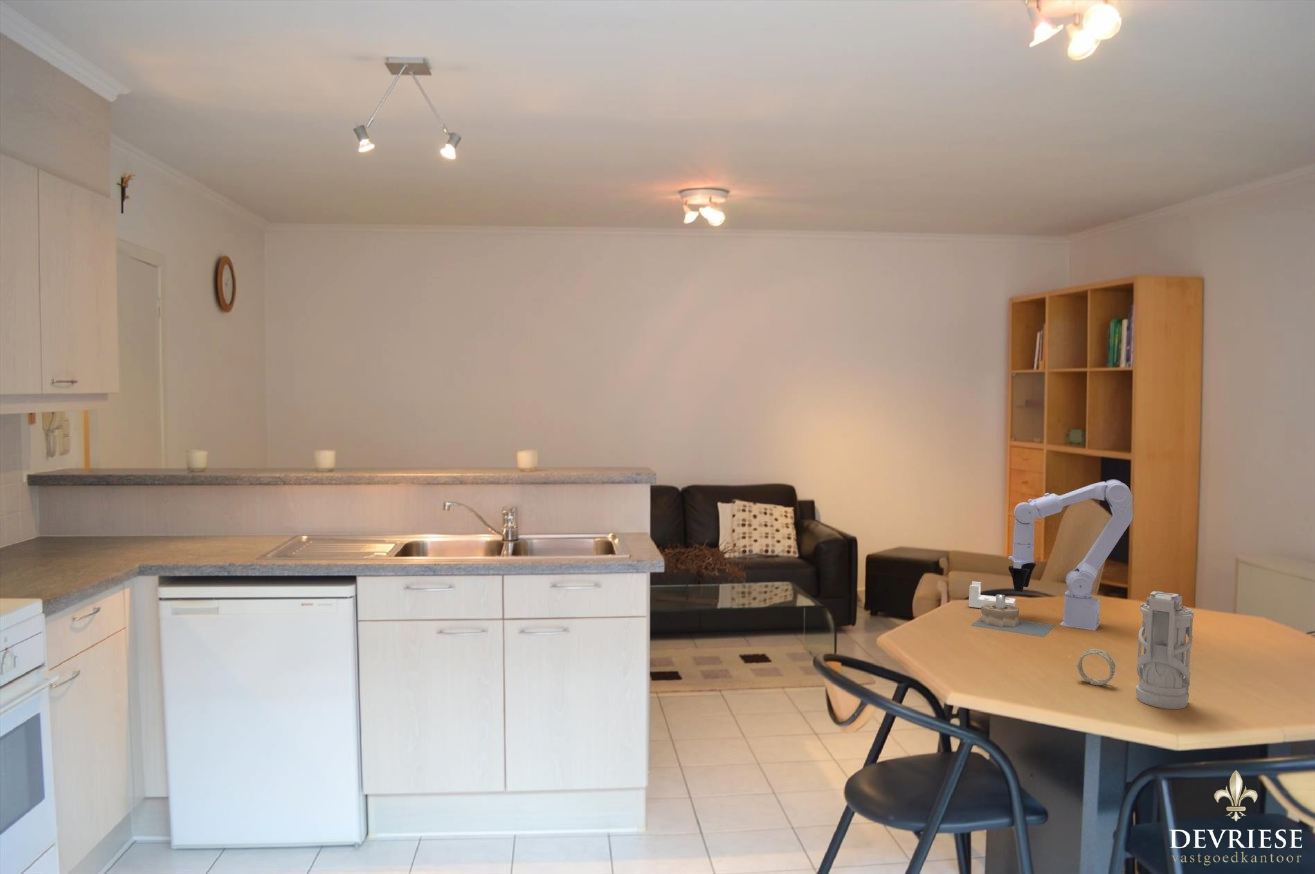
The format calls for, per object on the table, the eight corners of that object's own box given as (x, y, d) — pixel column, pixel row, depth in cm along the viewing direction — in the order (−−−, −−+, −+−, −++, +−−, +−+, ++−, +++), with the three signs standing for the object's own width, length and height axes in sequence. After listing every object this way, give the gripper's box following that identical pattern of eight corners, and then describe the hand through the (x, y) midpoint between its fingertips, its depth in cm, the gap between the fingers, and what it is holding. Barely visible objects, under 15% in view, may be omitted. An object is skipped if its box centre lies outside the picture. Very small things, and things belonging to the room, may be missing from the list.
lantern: (1139, 690, 216) (1145, 582, 214) (1191, 700, 209) (1198, 589, 208) (1128, 705, 205) (1134, 591, 204) (1182, 716, 199) (1189, 599, 198)
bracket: (968, 609, 293) (969, 585, 293) (971, 604, 299) (972, 581, 299) (1013, 614, 288) (1014, 590, 287) (1014, 609, 294) (1016, 586, 293)
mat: (1055, 626, 273) (1055, 625, 273) (1044, 638, 260) (1044, 636, 260) (984, 615, 284) (984, 614, 284) (970, 626, 271) (970, 625, 271)
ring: (1020, 621, 276) (1021, 606, 276) (1012, 628, 268) (1013, 612, 268) (986, 616, 282) (987, 601, 281) (978, 623, 274) (979, 607, 273)
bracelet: (1079, 678, 224) (1080, 645, 223) (1115, 685, 219) (1117, 651, 219) (1075, 682, 221) (1076, 648, 220) (1112, 689, 216) (1113, 655, 216)
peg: (1005, 622, 275) (1006, 595, 275) (1003, 624, 273) (1004, 596, 273) (995, 620, 277) (997, 593, 276) (993, 622, 275) (995, 595, 274)
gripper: (1014, 538, 287) (1012, 582, 287) (1003, 545, 274) (1001, 591, 275) (1039, 541, 283) (1037, 586, 283) (1029, 547, 271) (1026, 594, 271)
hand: (1021, 588), depth 279 cm, fingers open, 7 cm apart
